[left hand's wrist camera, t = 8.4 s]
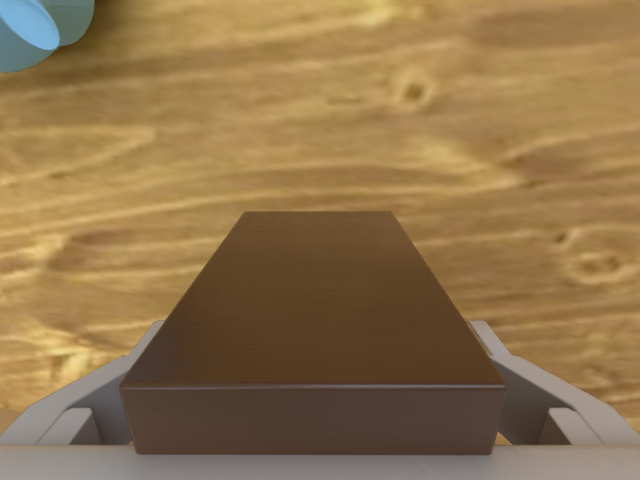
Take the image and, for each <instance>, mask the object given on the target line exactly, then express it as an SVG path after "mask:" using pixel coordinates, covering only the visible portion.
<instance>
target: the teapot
mask: <svg viewBox="0 0 640 480" xmlns="http://www.w3.org/2000/svg"><path fill="white" fill-rule="evenodd" d="M94 4H95V1H94V0H0V72H3V73H6V72H17V71H21V70H24V69H27V68H29V67H32V66H35V65H36V64H38V63H40V62H41V61H43V60H44V59H46V58H47V57H48V56H50V55H51V54H52V53H53V52H54V51H55V50H57V49H58V48H59V47H60V46H65V45H69V44H72V43H74V42H76V41H78V40H79V39H80V38H81V37H82V36H83V35H84V34H85V32H86V30H87V28H88V27H89V25H90V23H91V19H92V16H93V13H94Z"/></svg>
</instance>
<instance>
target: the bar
mask: <svg viewBox="0 0 640 480" xmlns="http://www.w3.org/2000/svg"><path fill="white" fill-rule="evenodd" d="M119 393H120V396H121V400H122V404H123V407H124V411H125V415H126V418H127V422H128V425H129V429H130V433H131V436H132V440H133V443H134V447H135V451H136V453H137V454H139V455H490V454H492V451H493V447H494V443H495V439H496V435H497V431H498V428H499V424H500V420H501V416H502V412H503V408H504V404H505V400H506V397H507V393H508V386H507V383H506V381H505V380H504V378H503V377H502V375H501V374H500V372H499V371H498V369H497V368H496V366H495V365H494V363H493V362H492V361H491V359H490V358H489V356H488V355H487V353H486V352H485V350H484V349H483V347H482V346H481V344H480V343H479V341H478V340H477V338H476V337H475V335H474V334H473V332H472V331H471V329H470V328H469V326H468V325H467V323H466V322H465V320H464V319H463V317H462V316H461V314H460V313H459V311H458V310H457V308H456V307H455V305H454V304H453V302H452V301H451V299H450V298H449V297H448V295H447V294H446V292H445V291H444V289H443V288H442V286H441V285H440V283H439V282H438V280H437V279H436V277H435V276H434V274H433V273H432V271H431V270H430V268H429V267H428V265H427V264H426V262H425V261H424V259H423V258H422V256H421V255H420V253H419V252H418V250H417V249H416V247H415V246H414V244H413V243H412V241H411V240H410V238H409V237H408V235H407V234H406V233H405V231H404V230H403V228H402V227H401V225H400V224H399V222H398V221H397V219H396V218H395V216H394V215H393V213H392V212H244V213H243V215H242V216H241V217H240V219H239V220H238V221H237V223H236V224H235V226H234V227H233V228H232V230H231V231H230V232H229V234H228V235H227V237H226V238H225V239H224V241H223V242H222V243H221V245H220V246H219V247H218V249H217V250H216V252H215V253H214V254H213V256H212V257H211V258H210V260H209V261H208V263H207V264H206V265H205V267H204V268H203V269H202V271H201V272H200V274H199V275H198V276H197V278H196V279H195V280H194V282H193V283H192V285H191V286H190V287H189V289H188V290H187V291H186V293H185V294H184V295H183V297H182V298H181V300H180V301H179V302H178V304H177V305H176V306H175V308H174V309H173V311H172V312H171V313H170V315H169V316H168V317H167V319H166V320H165V322H164V323H163V324H162V326H161V327H160V328H159V330H158V331H157V332H156V334H155V335H154V337H153V338H152V339H151V341H150V342H149V343H148V345H147V346H146V348H145V349H144V350H143V352H142V353H141V354H140V356H139V357H138V359H137V360H136V361H135V363H134V364H133V365H132V367H131V368H130V370H129V371H128V372H127V374H126V375H125V376H124V378H123V379H122V380H121V382H120V385H119Z"/></svg>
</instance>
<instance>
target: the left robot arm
mask: <svg viewBox="0 0 640 480" xmlns="http://www.w3.org/2000/svg"><path fill="white" fill-rule="evenodd" d="M164 322H165V320H158V321H155V322H154V323H153V324H152V325H151V327H150V328H149V329H148V331H147V332H146V333H145V334H144V336H143V337H142V338H141V340H140V341H139V342H138V343H137V345H136V346H135V347H134V349H133V350H132V351H131V352H130V354H129V355H123V356H121V357H119V358H117V359H115V360H113V361H112V362H110V363H108V364H106V365H104V366H102V367H100V368H99V369H97V370H95V371H93V372H91V373H89V374H87V375H86V376H84V377H82V378H80V379H78V380H76V381H74V382H73V383H71V384H69V385H67V386H65V387H63V388H61V389H60V390H58V391H56V392H54V393H52V394H50V395H48V396H47V397H45V398H43V399H41V400H39V401H37V402H35V403H34V404H32V405H30V406H28V407H27V408H26V409H25V410H24V411H23V412H22V413H21V415H20V416H19V417H18V418H17V419H16V420H15V421H14V422H13V423H12V424H11V425H10V426H9V427H8V428H7V429H6V430H5V431H4V432H3V433H2V434H1V435H0V480H640V435H639V434H638V433H637V432H636V431H635V430H634V429H633V428H632V427H631V426H630V425H629V424H628V423H627V421H626V420H625V419H624V418H623V417H622V416H621V415H620V414H619V413H618V412H617V411H616V410H615V409H614V408H613V407H612V406H610V405H608V404H606V403H604V402H603V401H601V400H599V399H597V398H595V397H593V396H591V395H590V394H588V393H586V392H584V391H582V390H580V389H578V388H577V387H575V386H573V385H571V384H569V383H567V382H565V381H564V380H562V379H560V378H558V377H556V376H554V375H552V374H551V373H549V372H547V371H545V370H543V369H541V368H540V367H538V366H536V365H534V364H532V363H530V362H528V361H527V360H525V359H523V358H521V357H519V356H517V355H511V354H510V352H509V351H508V350H507V349H506V347H505V346H504V345H503V343H502V342H501V341H500V340H499V338H498V337H497V336H496V334H495V333H494V332H493V331H492V329H491V328H490V327H489V325H488V324H487V323H486V322H485V321H483V320H472V321H465V322H466V323H467V325H468V326H469V328H470V329H471V331H472V332H473V334H474V335H475V337H476V338H477V340H478V341H479V343H480V344H481V346H482V347H483V349H484V350H485V352H486V353H487V355H488V356H489V358H490V359H491V361H492V362H493V363H494V365H495V366H496V368H497V369H498V371H499V372H500V374H501V375H502V377H503V378H504V380H505V381H506V383H507V386H508V393H507V397H506V400H505V404H504V408H503V412H502V416H501V420H500V424H499V428H498V431H499V432H500V433H501V434H502V435H503V436H504V437H505V438H506V439H507V440H509V441H510V442H511V443H512V444H513V445H494V447H493V451H492V454H490V455H139V454H137V453H136V451H135V447H134V445H127V444H128V443H129V442H130V441H132V436H131V433H130V429H129V425H128V422H127V418H126V415H125V411H124V407H123V404H122V400H121V396H120V393H119V385H120V382H121V380H122V379H123V378H124V376H125V375H126V374H127V372H128V371H129V370H130V368H131V367H132V365H133V364H134V363H135V361H136V360H137V359H138V357H139V356H140V354H141V353H142V352H143V350H144V349H145V348H146V346H147V345H148V343H149V342H150V341H151V339H152V338H153V337H154V335H155V334H156V332H157V331H158V330H159V328H160V327H161V326H162V324H163V323H164Z"/></svg>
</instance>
